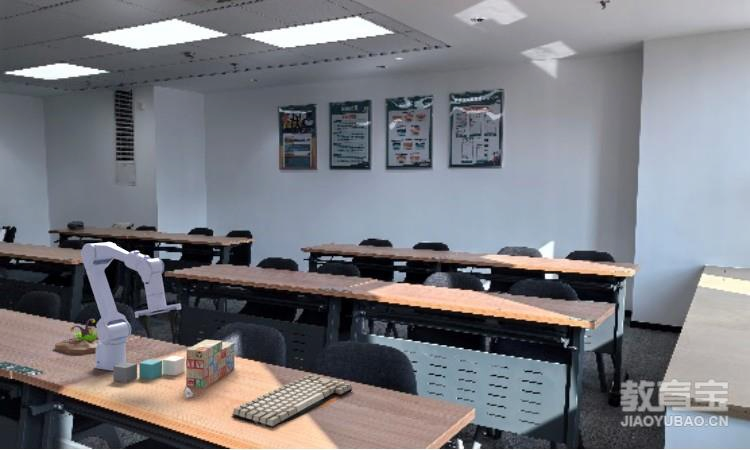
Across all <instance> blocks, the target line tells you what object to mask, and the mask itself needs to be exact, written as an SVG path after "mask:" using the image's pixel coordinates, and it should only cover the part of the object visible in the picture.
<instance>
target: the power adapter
mask: <svg viewBox="0 0 750 450" xmlns="http://www.w3.org/2000/svg"><path fill="white" fill-rule="evenodd" d="M184 396H185V399H188V398H191V397H193V396H194V393H193V392H192V390H191V389H190V388H188V387H186V388H185V390H184Z"/></svg>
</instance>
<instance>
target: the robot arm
mask: <svg viewBox="0 0 750 450" xmlns="http://www.w3.org/2000/svg"><path fill="white" fill-rule="evenodd" d="M140 252H141V251H139V250H132V251H130V252H129V251H127V250H125V249H123V248H122V247H119V246H117V244H116V243H115V242H114V243H113V242H111V241H107V242H97V243H84V245H83V246H82V249H81V252H80V257H81V260H82V264H83V267H84V269H85V272H86V274H87V277H88V281H89V283H90V287H91V290H92V293H93V295H94V296H93V297H94V300H95V302H96V304H97V308H98V311H99V314H100V317H101V318H100V319H99V320H98V321H97V322H96V325H95V326H96V330H97V332H96V333H97V336H98V339H99V340H100V342H99V343H98V344H97V346H96V353H95V365H94V366H93V369H99V370H105V371H113V372H114V366H115V365H118V364H121V363H123V362H127V356H126V354H127V352H126V351H127V350H126V348H127V345H126V344H127V343H126V342H127V341H128V338H129V337H130V336H131V333H132V326H131V324H130V322H128V320H127V318H126V316H125V315H124V314H123V313H120V312H119V311H118V309H117V305H116V303H115V300H114V297H113V294H112V292H111V291H112V290H111V288H110V284H109V282H108V279H107V276H106V273H105V270H106V268H108V266H109V265H110V264H111V262H112V261H113V260H114V259H115V260H119V261H121V262H124V265H125V266H126V268H129V269H131V270H134V271H136V272H137V274H139V276H140V277H141V281H142V283H143V284H144V290H145V296H146V304H147V308H148V309H143V310H138V311H137V310H136V311H135V312H134V316H135V318H138V319H137V321H138V322H139V323H140V325H141V326H142V328H143V329H144V330H145V331H144V332H145V333H146V334H147V338H148V339H150V338H153V331H152V324H151V316H152V315H158V314H163V313H167V315H168V319H169V324H170V331H171V334H175V333H176V332H177V331H176V330H177V322H178V317H179V314H180V310H182V304H181V303H175V304H169V305H167V301H166V295H165V287H164V281H163V276H162V274H163V273H164V272H165V263H164V262H163V260H162V259H161V258H159V257H154V258H152V257H150V255H147V254H142V253H140Z"/></svg>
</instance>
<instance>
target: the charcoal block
mask: <svg viewBox="0 0 750 450" xmlns="http://www.w3.org/2000/svg"><path fill="white" fill-rule="evenodd" d="M136 378H137V379H138V363H136V362H135V363H134V362H128V361H126V362H123V363H121V364H118V365H115V366H114V371H113V382H116V381H120V382H119V383H122V382H125V383H124V384H127V383H130V382H132V381H135V380H136ZM134 379H135V380H134ZM131 380H132V381H131ZM129 381H130V382H129ZM126 382H127V383H126Z"/></svg>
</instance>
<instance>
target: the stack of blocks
mask: <svg viewBox="0 0 750 450" xmlns="http://www.w3.org/2000/svg"><path fill="white" fill-rule="evenodd" d="M185 350H186V356H185V357H186V358H185V363H186V364H185V367H186V368H185V369H186V370H185V371H186V377H185V379H186V380H185V382H186V385H185V386H186V387H187V388H188V387H190V388H198V389H199V388H200V389H205V388H207V386H210V385H211V384H212V383H215V382H216V381H218V378H219V379H220V378H222V377H223V376H225V375H226V374H228V373H229V372H231V371H232V370H234V369H235V355H236V354H235V343H234V342H230V341H223V340H214V339H204V340H202V341H200V342H198V343H196V344H194V345H193V346H190V347H188V348H187V349H185ZM224 374H225V375H224Z"/></svg>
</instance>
